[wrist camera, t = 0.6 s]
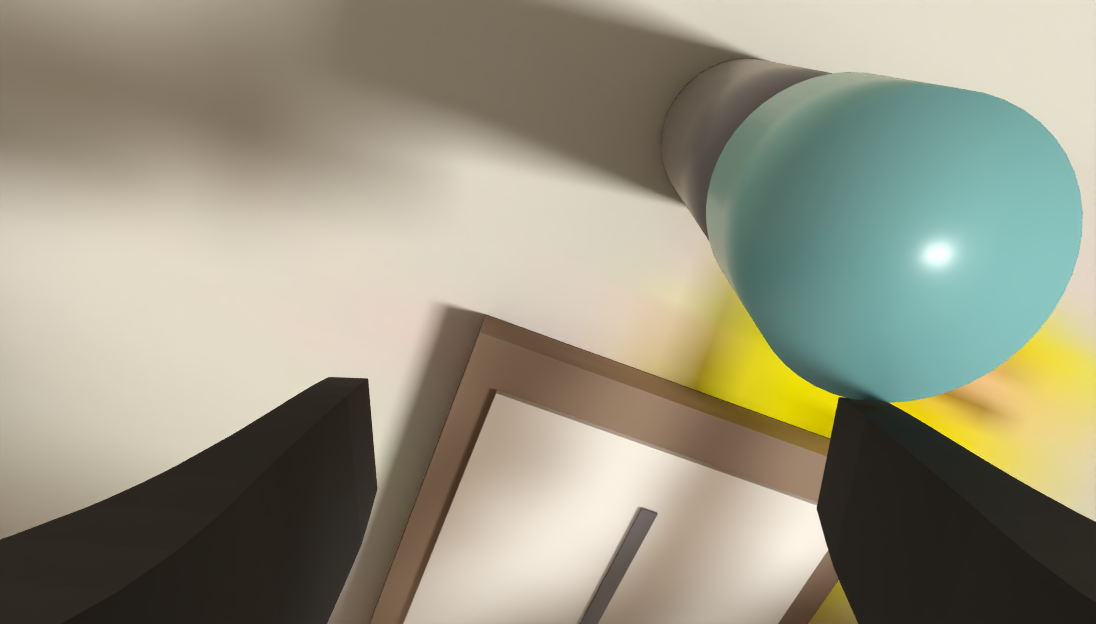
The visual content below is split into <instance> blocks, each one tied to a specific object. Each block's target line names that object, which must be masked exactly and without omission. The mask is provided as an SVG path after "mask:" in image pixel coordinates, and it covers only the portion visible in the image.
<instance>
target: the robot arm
mask: <svg viewBox="0 0 1096 624" xmlns="http://www.w3.org/2000/svg"><path fill="white" fill-rule="evenodd" d="M376 492H377V479H376V467H375V455H374V444H373V432H372V420H371V408H370V396H369V385H368V379H364V378H339V377H328V378H326V379H324V380H322V381H320V382H318V383H316V384H315V385H313V386H311V387H309V388H308V389H306V390H304V391H303V392H301V393H299V394H298V395H296V396H295V397H293V398H291V399H290V400H288V401H286V402H285V403H283V404H282V405H280V406H278V407H277V408H275V409H274V410H272V411H270V412H269V413H267V414H265V415H264V416H262V417H261V418H259V419H257V420H256V421H254V422H252V423H251V424H249V425H248V426H246V427H244V428H243V429H241V430H239V431H238V432H236V433H234V434H233V435H231V436H229V437H227V438H225V439H224V440H222V441H220V442H218V443H217V444H215V445H213V446H211V447H209V448H208V449H206V450H204V451H202V452H200V453H199V454H197V455H195V456H193V457H191V458H190V459H188V460H186V461H184V462H182V463H181V464H179V465H177V466H175V467H173V468H171V469H169V470H167V471H165V472H163V473H161V474H159V475H157V476H155V477H153V478H151V479H149V480H147V481H145V482H143V483H141V484H139V485H136V486H134V487H132V488H130V489H128V490H125V491H123V492H121V493H119V494H116V495H114V496H112V497H110V498H108V499H105V500H103V501H101V502H98V503H96V504H94V505H91V506H89V507H86V508H84V509H81V510H78V511H76V512H73V513H70V514H68V515H65V516H63V517H60V518H57V519H55V520H52V521H49V522H47V523H44V524H41V525H39V526H36V527H33V528H31V529H28V530H26V531H23V532H20V533H18V534H15V535H12V536H9V537H6V538H4V539H1V540H0V624H327V622H328V620H329V618H330V615H331V613H332V611H333V609H334V607H335V604H336V602H337V600H338V598H339V595H340V593H341V591H342V589H343V586H344V584H345V582H346V579H347V577H348V575H349V572H350V570H351V568H352V566H353V563H354V561H355V559H356V556H357V554H358V552H359V549H360V547H361V544H362V541H363V538H364V534H365V531H366V528H367V524H368V521H369V517H370V514H371V510H372V506H373V503H374V499H375V495H376ZM817 512H818V516H819V519H820V523H821V527H822V530H823V534H824V538H825V541H826V545H827V548H828V551H829V554H830V558H831V561H832V564H833V567H834V570H835V572H836V574H837V577H838V579H839V581H840V583H841V586H842V588H843V590H844V592H845V595H846V597H847V599H848V601H849V604H850V606H851V608H852V610H853V613H854V615H855V617H856V619H857V622H858V624H1096V522H1095V521H1093V520H1091V519H1089V518H1087V517H1085V516H1083V515H1081V514H1079V513H1077V512H1075V511H1073V510H1072V509H1070V508H1068V507H1066V506H1064V505H1062V504H1061V503H1059V502H1057V501H1055V500H1053V499H1051V498H1050V497H1048V496H1046V495H1044V494H1042V493H1040V492H1039V491H1037V490H1035V489H1033V488H1031V487H1030V486H1028V485H1026V484H1024V483H1023V482H1021V481H1019V480H1017V479H1016V478H1014V477H1012V476H1010V475H1009V474H1007V473H1005V472H1004V471H1002V470H1000V469H999V468H997V467H995V466H994V465H992V464H990V463H989V462H987V461H985V460H984V459H982V458H980V457H979V456H977V455H975V454H974V453H972V452H970V451H969V450H967V449H965V448H964V447H962V446H961V445H959V444H957V443H956V442H954V441H952V440H951V439H949V438H948V437H946V436H944V435H943V434H941V433H939V432H938V431H936V430H935V429H933V428H931V427H930V426H928V425H926V424H925V423H923V422H921V421H920V420H918V419H916V418H915V417H913V416H911V415H910V414H908V413H906V412H904V411H903V410H901V409H899V408H897V407H895V406H893V405H892V404H890V403H887V402H868V401H862V400H856V399H850V398H842V397H839V399H838V404H837V409H836V414H835V419H834V424H833V429H832V434H831V439H830V444H829V449H828V454H827V459H826V464H825V469H824V474H823V478H822V483H821V488H820V493H819V498H818V503H817Z"/></svg>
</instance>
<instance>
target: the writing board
mask: <svg viewBox="0 0 1096 624" xmlns="http://www.w3.org/2000/svg"><path fill="white" fill-rule="evenodd" d="M829 444H830V439H828V438H825V437H823V436H820V435H817V434H814V433H812V432H809V431H806V430H803V429H801V428H798V427H795V426H792V425H789V424H787V423H784V422H781V421H778V420H776V419H773V418H770V417H767V416H765V415H762V414H759V413H756V412H753V411H751V410H748V409H745V408H742V407H740V406H737V405H734V404H731V403H728V402H726V401H723V400H720V399H717V398H715V397H712V396H709V395H706V394H704V393H701V392H698V391H695V390H692V389H690V388H687V387H684V386H681V385H679V384H676V383H673V382H670V381H668V380H665V379H662V378H659V377H656V376H654V375H651V374H648V373H645V372H643V371H640V370H637V369H634V368H632V367H629V366H626V365H623V364H620V363H618V362H615V361H612V360H609V359H607V358H604V357H601V356H598V355H596V354H593V353H590V352H587V351H584V350H582V349H579V348H576V347H573V346H571V345H568V344H565V343H562V342H560V341H557V340H554V339H551V338H548V337H546V336H543V335H540V334H537V333H535V332H532V331H529V330H526V329H524V328H521V327H518V326H515V325H512V324H510V323H507V322H504V321H501V320H499V319H496V318H493V317H490V316H487V315H485V318H484V320H483V323H482V326H481V328H480V331H479V334H478V336H477V339H476V342H475V344H474V347H473V350H472V352H471V355H470V358H469V360H468V363H467V366H466V368H465V371H464V374H463V376H462V379H461V382H460V384H459V387H458V390H457V392H456V395H455V397H454V400H453V403H452V405H451V408H450V411H449V413H448V416H447V419H446V421H445V424H444V427H443V429H442V432H441V435H440V437H439V440H438V443H437V445H436V448H435V451H434V453H433V456H432V459H431V461H430V464H429V467H428V469H427V472H426V475H425V477H424V480H423V483H422V485H421V488H420V491H419V493H418V496H417V499H416V501H415V504H414V507H413V509H412V512H411V514H410V517H409V520H408V522H407V525H406V528H405V530H404V533H403V536H402V538H401V541H400V544H399V546H398V549H397V552H396V554H395V557H394V560H393V562H392V565H391V568H390V570H389V573H388V576H387V578H386V581H385V584H384V586H383V589H382V592H381V594H380V597H379V600H378V602H377V605H376V608H375V610H374V613H373V616H372V618H371V621H370V624H808V623H809V621H810V620H811V618H812V617H813V616H814V614H815V613H816V611H817V610H818V609H819V607H820V606H821V604H822V603H823V601H824V600H825V599H826V597H827V596H828V594H829V593H830V591H831V590H832V589H833V587H834V586H835V584H836V583H837V582H838V580H839V579H838V577H837V574H836V572H835V570H834V567H833V564H832V561H831V558H830V554H829V551H828V548H827V545H826V541H825V538H824V534H823V530H822V527H821V523H820V519H819V516H818V512H817V503H818V498H819V493H820V488H821V483H822V478H823V474H824V469H825V464H826V459H827V454H828V449H829Z"/></svg>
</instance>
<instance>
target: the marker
mask: <svg viewBox="0 0 1096 624" xmlns="http://www.w3.org/2000/svg"><path fill="white" fill-rule="evenodd" d="M661 152H662V159H663V165H664V168H665V171H666V174H667V176H668V178H669V180H670V182H671V184H672V185H673V187H674V188H675V190H676V191H677V193H678V194H679V196H680V197H681V199H682V200H683V202H684V203H685V205H686V207H687V208H688V210H689V211H690V213H691V214H692V216H693V217H694V219H695V220H696V222H697V223H698V225H699V226H700V228H701V229H702V231H703V232H704V234H705V235H706V237H707V238H708V240H709V242H710V245H711V248H712V251H713V254H714V256H715V259H716V261H717V263H718V265H719V267H720V269H721V270H722V272H723V273H724V275H725V277H726V278H727V280H728V281H729V283H730V284H731V286H732V288H733V289H734V291H735V292H736V294H737V295H738V297H739V299H740V300H741V302H742V303H743V305H744V307H745V308H746V310H747V311H748V313H749V314H750V316H751V318H752V319H753V321H754V322H755V324H756V326H757V327H758V329H759V330H760V332H761V333H762V335H763V337H764V338H765V340H766V341H767V343H768V344H769V346H770V347H771V349H772V350H773V351H774V353H775V354H776V355H777V356H778V357H779V358H780V359H781V360H782V362H783V363H784V364H785V365H786V366H788V367H789V368H790V369H791V370H792V371H794V372H795V373H796V374H797V375H798V376H800V377H801V378H803V379H805V380H806V381H808V382H810V383H811V384H813V385H814V386H817V387H819V388H821V389H823V390H826V391H828V392H830V393H833V394H836V395H839V396H843V397H846V398H850V399H856V400H862V401H868V402H888V403H890V402H903V401H912V400H918V399H923V398H928V397H932V396H936V395H939V394H942V393H946V392H949V391H952V390H954V389H956V388H959V387H961V386H964V385H966V384H968V383H971V382H972V381H974V380H976V379H978V378H980V377H982V376H983V375H985V374H987V373H989V372H990V371H992V370H993V369H995V368H996V367H998V366H999V365H1001V364H1002V363H1004V362H1005V361H1006V360H1008V359H1009V358H1010V357H1011V356H1012V355H1014V354H1015V353H1016V352H1017V351H1018V350H1019V349H1021V348H1022V347H1023V346H1024V345H1025V344H1026V343H1027V342H1028V341H1029V340H1030V339H1031V338H1032V337H1033V336H1034V335H1035V333H1036V332H1037V331H1038V330H1039V329H1040V328H1041V326H1042V325H1043V324H1044V323H1045V321H1046V320H1047V319H1048V317H1049V316H1050V315H1051V313H1052V312H1053V310H1054V309H1055V307H1056V305H1057V304H1058V302H1059V300H1060V299H1061V297H1062V295H1063V293H1064V291H1065V289H1066V287H1067V285H1068V282H1069V280H1070V278H1071V276H1072V273H1073V270H1074V267H1075V263H1076V260H1077V257H1078V253H1079V247H1080V242H1081V236H1082V215H1083V212H1082V204H1081V195H1080V190H1079V186H1078V183H1077V179H1076V175H1075V172H1074V170H1073V168H1072V166H1071V163H1070V161H1069V159H1068V157H1067V155H1066V153H1065V152H1064V150H1063V149H1062V147H1061V146H1060V144H1059V143H1058V141H1057V140H1056V138H1055V137H1054V136H1053V135H1052V134H1051V133H1050V132H1049V131H1048V130H1047V129H1046V128H1045V127H1044V126H1043V125H1042V124H1041V122H1039V121H1038V120H1037V119H1035V118H1034V117H1033V116H1031V115H1030V114H1028V113H1027V112H1026V111H1024V110H1023V109H1021V108H1019V107H1017V106H1015V105H1013V104H1011V103H1009V102H1008V101H1006V100H1003V99H1000V98H997V97H994V96H991V95H988V94H985V93H981V92H976V91H970V90H965V89H959V88H953V87H947V86H941V85H935V84H929V83H923V82H917V81H911V80H905V79H899V78H893V77H887V76H881V75H875V74H869V73H856V72H844V73H834V74H833V73H827V72H822V71H817V70H812V69H806V68H801V67H796V66H791V65H785V64H780V63H775V62H769V61H764V60H758V59H736V60H731V61H727V62H723V63H720V64H718V65H715V66H713V67H711V68H709V69H707V70H705V71H703V72H702V73H701V74H699V75H698V76H696V77H695V78H694V79H693V80H692V81H690V82H689V83H688V84H687V85H686V86H685V87H684V89H683V90H682V91H681V92H680V93H679V95H678V96H677V98H676V99H675V101H674V102H673V104H672V106H671V108H670V110H669V112H668V114H667V117H666V120H665V122H664V127H663V131H662V140H661Z"/></svg>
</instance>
